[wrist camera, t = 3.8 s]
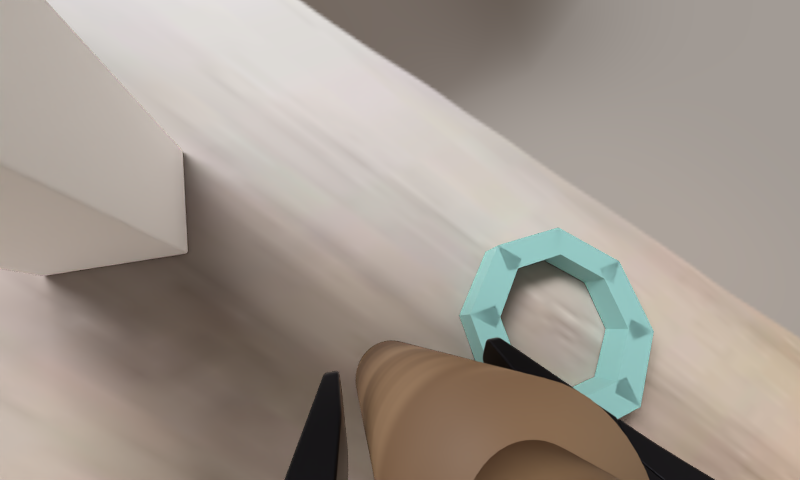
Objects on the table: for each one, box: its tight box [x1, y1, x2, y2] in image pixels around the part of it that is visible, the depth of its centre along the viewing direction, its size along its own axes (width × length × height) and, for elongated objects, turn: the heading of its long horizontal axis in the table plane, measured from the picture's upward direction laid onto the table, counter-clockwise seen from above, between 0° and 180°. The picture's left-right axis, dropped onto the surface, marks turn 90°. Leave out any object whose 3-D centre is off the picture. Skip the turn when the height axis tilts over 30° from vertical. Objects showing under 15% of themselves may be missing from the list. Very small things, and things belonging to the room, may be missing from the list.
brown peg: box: [356, 341, 649, 480], centre depth 8 cm, size 4×4×14 cm
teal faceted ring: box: [459, 228, 654, 419], centre depth 16 cm, size 10×10×2 cm
